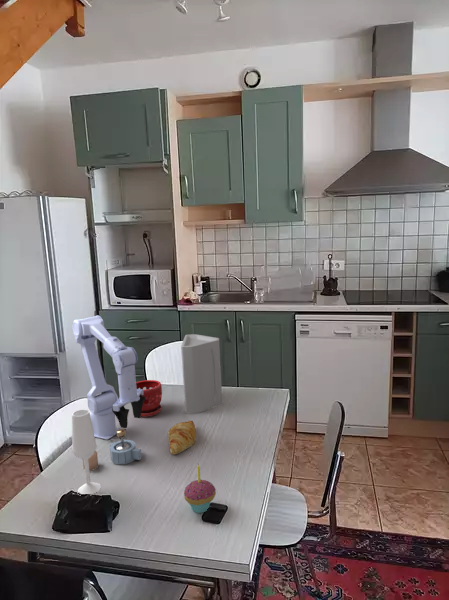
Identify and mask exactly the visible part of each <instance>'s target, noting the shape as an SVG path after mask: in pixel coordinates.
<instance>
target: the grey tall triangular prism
mask: <svg viewBox="0 0 449 600" xmlns="http://www.w3.org/2000/svg"><path fill="white" fill-rule="evenodd" d="M180 351H181V363H182V366H181V367H182V380H183V383H182V384H183V395H184V397H183V398H184V408H185V409H184V410H185V411H184V412H185V414H186V415H195V414H199V413H200V414H201V413H202V412H205V411H207V410H211V409H213V408H215V407H218V406H222V405H223V390H222V389H223V388H222V372H221V371H222V370H221V367H222V366H221V352H220V351H221V349H220V338H219V337H215V336H214V337H213V336H208V335H204V334H202V335H201V334H195V333H192V334H191V333H190V334H185V336H184V338H183V341H182V343H181V346H180Z"/></svg>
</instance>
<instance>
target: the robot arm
mask: <svg viewBox="0 0 449 600" xmlns="http://www.w3.org/2000/svg"><path fill="white" fill-rule="evenodd" d="M71 329H72V333H73V337H74V340H75V342H76V344H80V347H81V350H82V355H83V357H84V362H85V366H86V369H87V372H88V373H87V374H88V376H89V379H90V384H91V388H90V390H89V391H88V393H87V394H86V398H87V407H88V410H89V413H90V417H91V422H92V427H93V431H94V436H95V438H98V439H102V440H110V439H111V438H113V437H114V436H115V435H117V430H118V429H127V428H128V423H129V422H128V416H129V412H130V409H128V408H126V405H128V404H130V405H131V409H132V415H133V417H134V418H136V419H140V418H141V417H142V416H141V410H142V406H143V403H144V401H145V397H144V396H142V395H143V390H144V388H143V389H140V388H138V389H137V388H136V382H137V381H136V380H137V377H136V367H135V365H136V364H137V363H138V360H139V359H138V358H139V357H138V353H137V352H136V350H135V348H134V347H132V346H126V345H125V344H124V343H123V342H122V341H121V340H120V339H119V338H118V337H117V336H112V335H111V334H110V332H108V330H107V329H106V327H105V321H104V320H103V318H102V316H100V315H95V316H90V317H89V316H88V317H86V318H80V319H74V320H73V323H72V328H71ZM97 340H99V341H100V342H101V343H102V344H103V349H104V350H105V352H106V353H107V354H108V355H109V356H110V357H111V358H112V362H113V366H114V369H115V373H116V374H117V381H118V392H119V394H117V392H116V391H115V387H114V386H113V385H111V384H109V383H107V382H106V379H105V375H104V370H103V368H102V364H101V360H100V358H99V354H98V349H97V347H96V341H97ZM118 395H119V396H118ZM116 419H117V421H118V423H119V425H120V428H118V427H116V425H117V423H116Z"/></svg>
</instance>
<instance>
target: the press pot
mask: <svg viewBox="0 0 449 600" xmlns="http://www.w3.org/2000/svg"><path fill="white" fill-rule="evenodd" d="M124 443H128V444H130V448H129V449H127V450H123V451H118V450H116V446H117V445H118V444H121V440H118V441H115V442H112V443H110V444H109V454H110V461H111V463H113V464H114V465H120V466H121V465H127V464H130V463H132V462H133V461H135V460H137V461H139V460H141V459H142V450H141V449H140V448H137V444H136V442H135V441H134V440H132V439H131V440H130V439H124Z"/></svg>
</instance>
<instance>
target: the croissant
mask: <svg viewBox="0 0 449 600" xmlns="http://www.w3.org/2000/svg"><path fill="white" fill-rule="evenodd" d="M167 438H168V440H167V441H168V443H169V448H170V449H169V451H170V454H171V455H177V454H180V453H182V452H184V451H185V450H187V449H189V448H190V447H192V446H193V445H195V442H196V439H197V428H196V425H195V423H194V421H193V420H188V421H184V422H183V421H181V422H179V423H176V424H174V425H172V427H171V428H170V429H169V430H168V432H167Z"/></svg>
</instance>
